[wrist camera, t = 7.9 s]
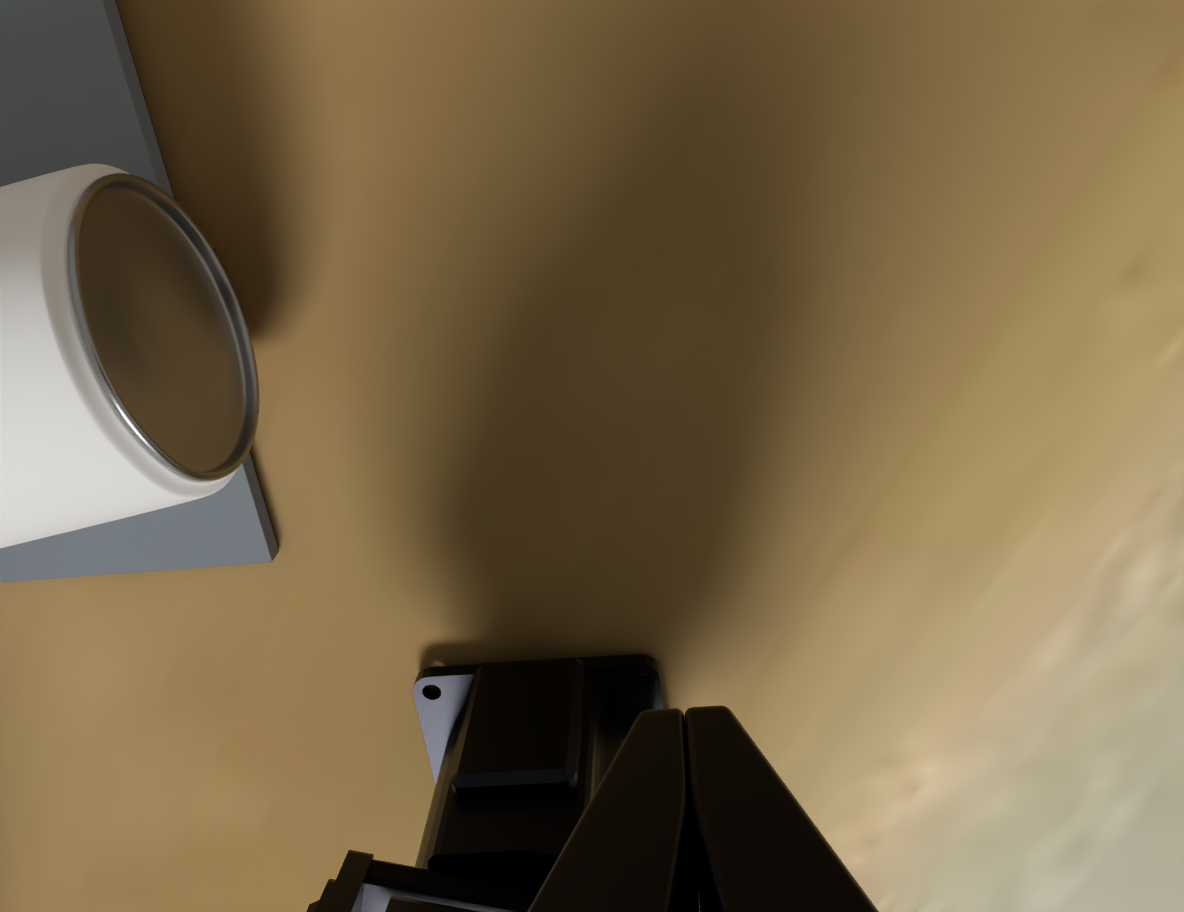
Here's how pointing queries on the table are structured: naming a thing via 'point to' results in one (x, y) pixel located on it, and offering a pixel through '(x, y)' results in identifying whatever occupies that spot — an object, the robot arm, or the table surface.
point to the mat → (127, 141)
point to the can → (114, 355)
